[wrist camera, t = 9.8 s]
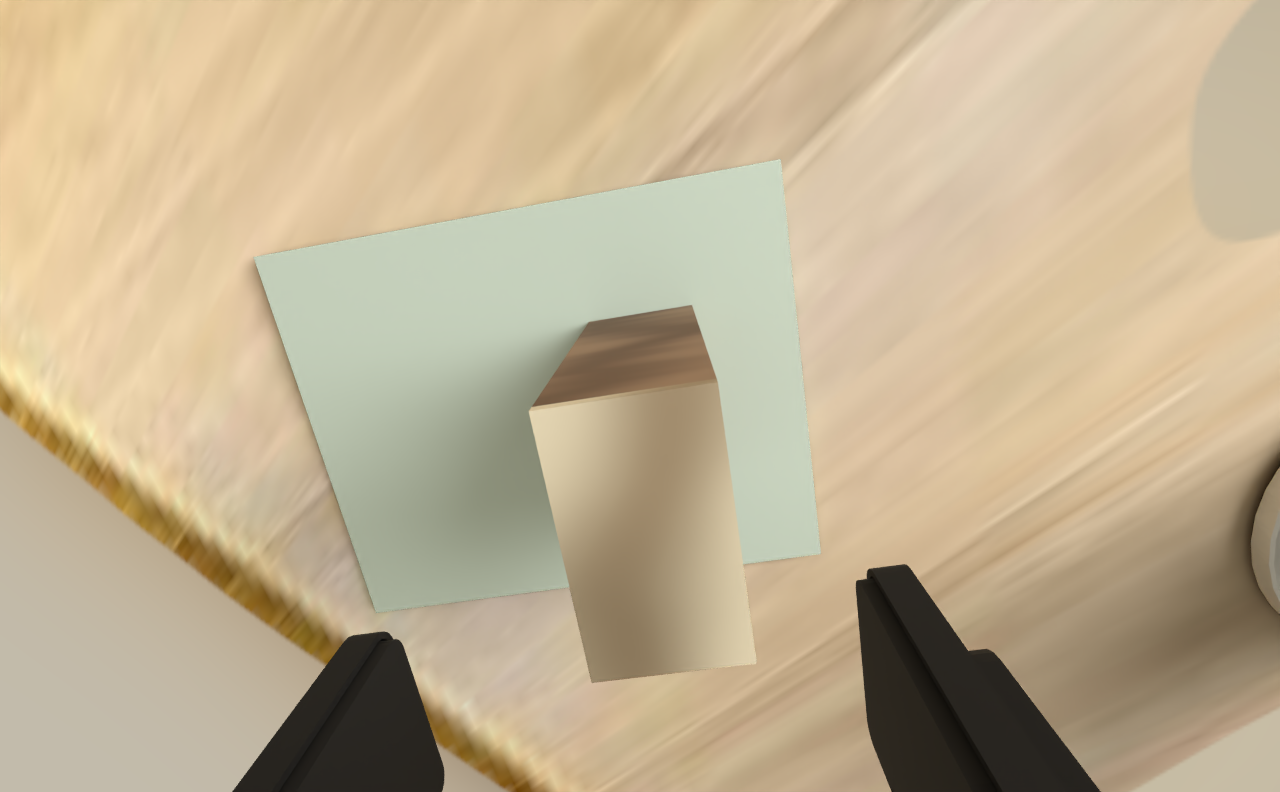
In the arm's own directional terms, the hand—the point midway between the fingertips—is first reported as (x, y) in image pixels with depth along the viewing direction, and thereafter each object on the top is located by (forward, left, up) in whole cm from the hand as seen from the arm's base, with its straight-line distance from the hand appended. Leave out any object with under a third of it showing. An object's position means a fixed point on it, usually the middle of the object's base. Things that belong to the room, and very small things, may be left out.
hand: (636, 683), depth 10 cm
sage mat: (+4, 0, -16) cm, 16 cm away
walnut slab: (0, 0, -15) cm, 15 cm away
